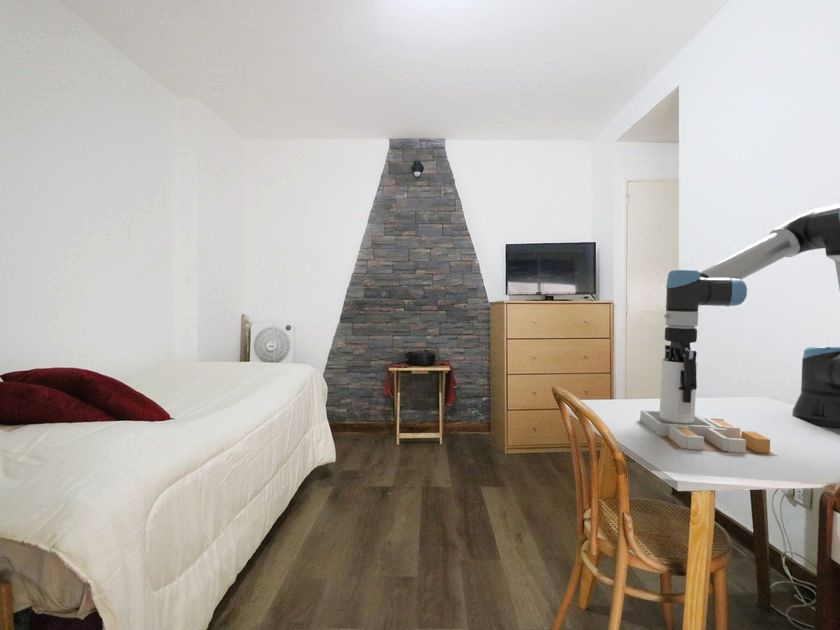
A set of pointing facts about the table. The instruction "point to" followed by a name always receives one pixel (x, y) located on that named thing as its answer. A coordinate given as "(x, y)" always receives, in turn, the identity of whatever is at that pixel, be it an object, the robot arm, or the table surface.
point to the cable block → (756, 441)
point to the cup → (673, 393)
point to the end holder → (662, 429)
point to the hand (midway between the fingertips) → (677, 409)
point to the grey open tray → (725, 440)
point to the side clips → (693, 441)
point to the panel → (711, 445)
